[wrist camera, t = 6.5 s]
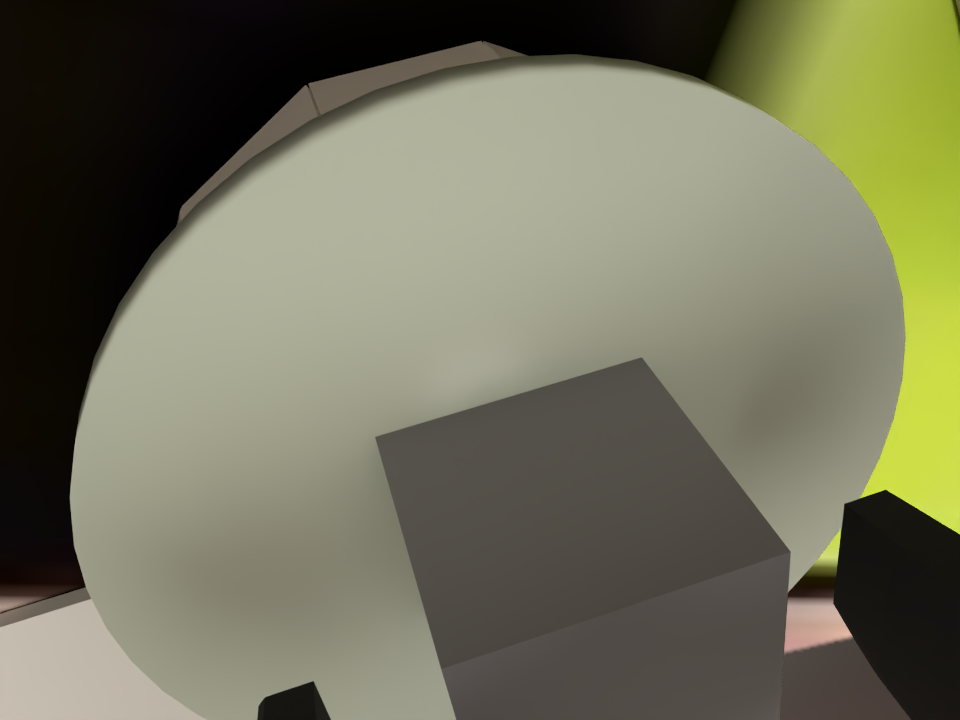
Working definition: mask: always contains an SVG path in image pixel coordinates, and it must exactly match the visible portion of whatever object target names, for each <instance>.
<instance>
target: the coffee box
mask: <svg viewBox="0 0 960 720" xmlns="http://www.w3.org/2000/svg"><path fill="white" fill-rule="evenodd" d="M956 4H957V8H958V13H959V18H960V0H956Z"/></svg>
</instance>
